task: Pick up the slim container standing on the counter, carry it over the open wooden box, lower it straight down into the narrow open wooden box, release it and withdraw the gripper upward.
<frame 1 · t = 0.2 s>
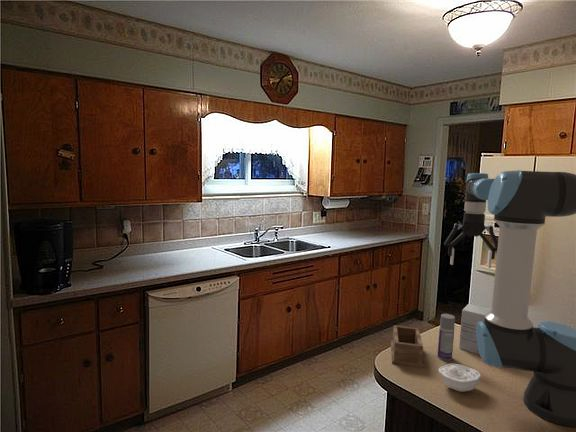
hand: (469, 265, 151), 28 cm above the counter, fingers open, 13 cm apart
open wooden box: (406, 354, 134), on the counter
supplement box: (474, 348, 140), on the counter
container: (444, 357, 132), on the counter
cell model: (458, 388, 113), on the counter
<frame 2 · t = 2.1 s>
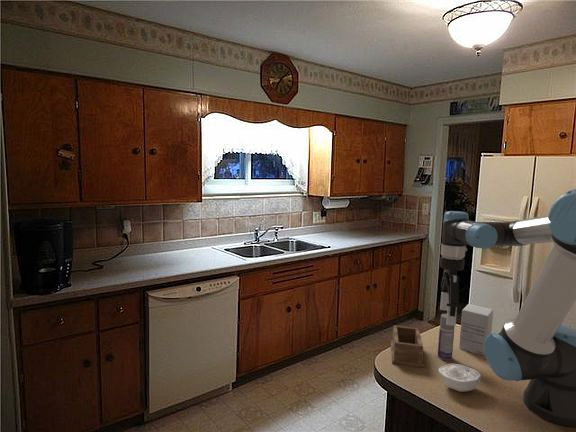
hand: (447, 317, 131), 14 cm above the counter, fingers open, 13 cm apart
nothing on the counter moved.
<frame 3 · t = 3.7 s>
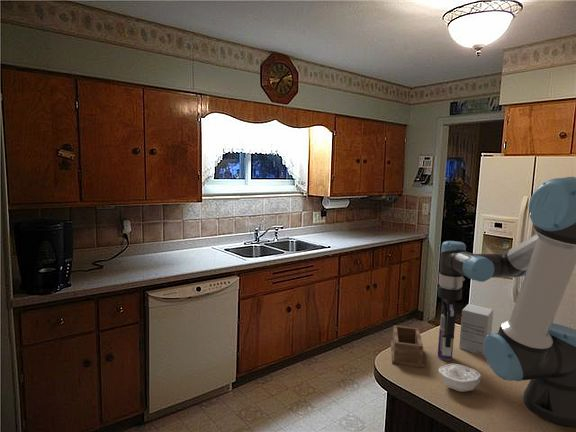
hand: (445, 351, 132), 2 cm above the counter, fingers closed on container, 5 cm apart
container: (444, 357, 132), on the counter, touching gripper
everything else where it was.
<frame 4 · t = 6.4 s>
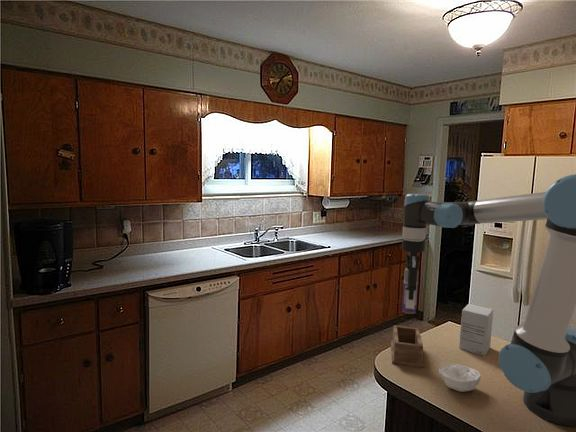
hand: (409, 305, 132), 18 cm above the counter, fingers closed on container, 5 cm apart
container: (408, 311, 132), point 15 cm above the counter, touching gripper
everything else where it was.
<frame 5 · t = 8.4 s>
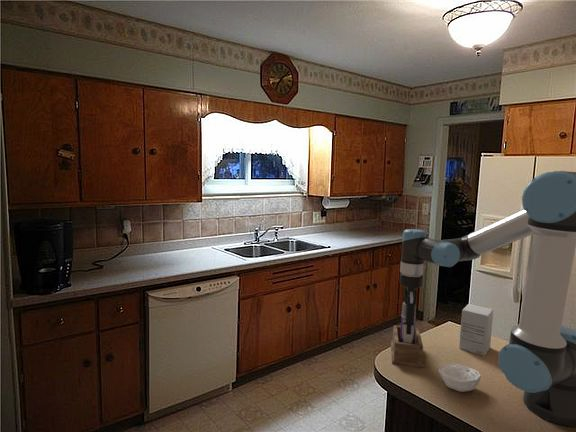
hand: (407, 338, 133), 6 cm above the counter, fingers closed on container, 5 cm apart
container: (406, 345, 133), point 3 cm above the counter, touching gripper
everything else where it was.
when the fingers open (5 cm above the counter, at t = 9.4 s): container drops 2 cm, resting on open wooden box.
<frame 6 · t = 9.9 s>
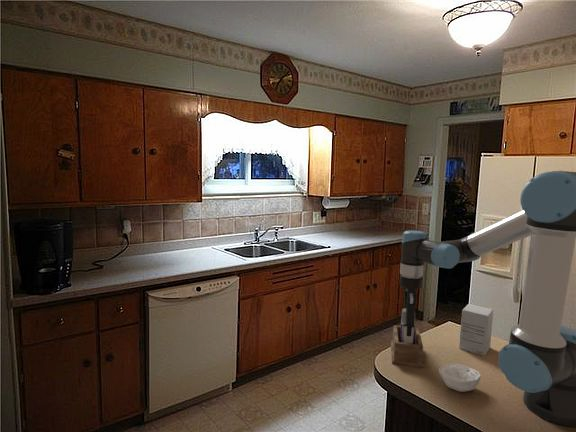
hand: (407, 338, 133), 6 cm above the counter, fingers open, 8 cm apart
container: (406, 352, 133), point 1 cm above the counter, touching open wooden box
everything else where it was.
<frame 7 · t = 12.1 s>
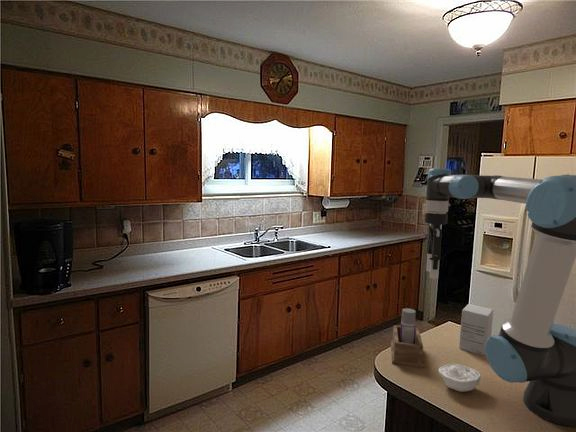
hand: (431, 274, 137), 27 cm above the counter, fingers open, 9 cm apart
nothing on the counter moved.
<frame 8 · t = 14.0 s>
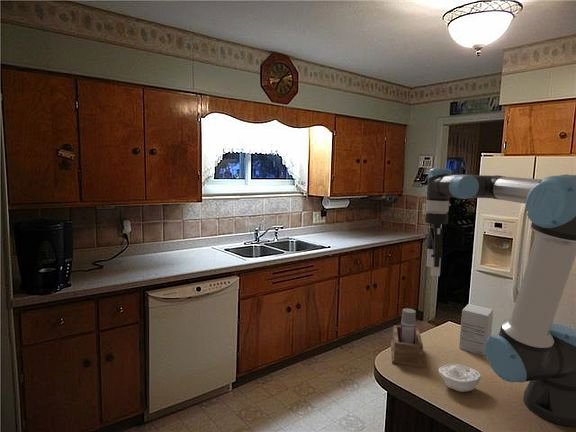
hand: (432, 270, 137), 29 cm above the counter, fingers open, 13 cm apart
nothing on the counter moved.
at the end: container inside the target area on the open wooden box (0.1 cm from its centre), point 0.8 cm above the open wooden box's base; container tilted 0°; the gripper is holding nothing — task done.
